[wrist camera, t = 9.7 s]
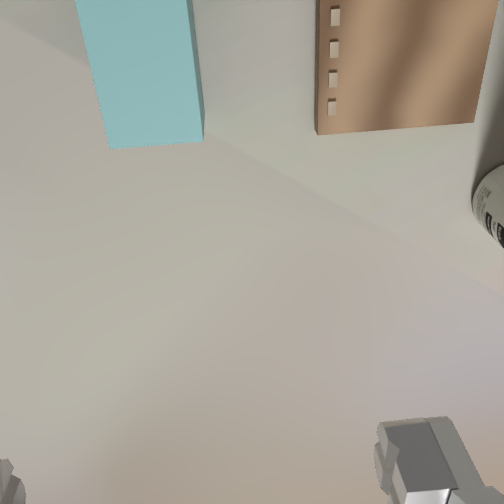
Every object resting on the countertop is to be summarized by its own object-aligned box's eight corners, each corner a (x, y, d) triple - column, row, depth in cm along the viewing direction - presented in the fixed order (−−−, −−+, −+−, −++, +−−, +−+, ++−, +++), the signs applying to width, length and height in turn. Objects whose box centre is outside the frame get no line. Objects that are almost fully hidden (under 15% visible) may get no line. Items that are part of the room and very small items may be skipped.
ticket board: (314, 129, 37) (318, 136, 36) (318, -134, 28) (323, -138, 27) (466, 117, 37) (475, 123, 36) (517, -148, 28) (530, -151, 27)
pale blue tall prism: (124, 119, 35) (109, 149, 30) (83, -76, 29) (55, -81, 24) (204, 113, 35) (203, 141, 30) (182, -83, 29) (175, -89, 24)
